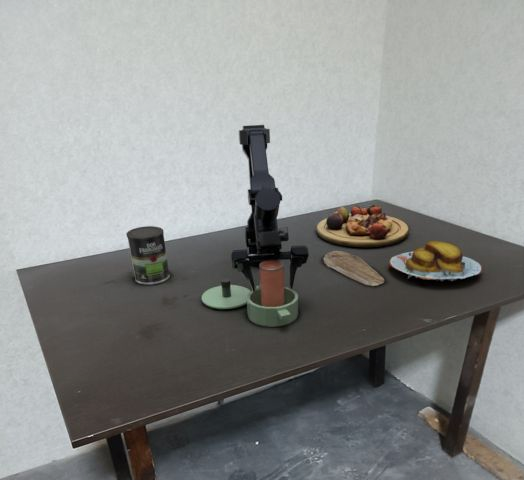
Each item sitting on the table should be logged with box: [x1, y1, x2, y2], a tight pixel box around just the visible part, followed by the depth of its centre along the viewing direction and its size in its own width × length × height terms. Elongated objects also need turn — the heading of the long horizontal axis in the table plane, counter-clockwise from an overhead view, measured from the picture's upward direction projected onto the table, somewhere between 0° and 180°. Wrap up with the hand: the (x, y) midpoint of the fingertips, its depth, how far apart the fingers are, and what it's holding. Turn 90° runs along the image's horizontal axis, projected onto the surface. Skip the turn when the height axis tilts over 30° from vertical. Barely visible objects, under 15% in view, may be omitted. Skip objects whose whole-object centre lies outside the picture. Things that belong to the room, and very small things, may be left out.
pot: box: [246, 284, 299, 328], centre depth 121 cm, size 13×18×5 cm
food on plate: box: [388, 240, 483, 282], centre depth 139 cm, size 25×25×7 cm
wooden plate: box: [316, 204, 410, 248], centre depth 169 cm, size 32×32×8 cm
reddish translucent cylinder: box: [258, 260, 285, 307], centre depth 119 cm, size 6×6×13 cm
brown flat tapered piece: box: [323, 250, 385, 287], centre depth 144 cm, size 26×10×1 cm, turn 31°
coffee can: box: [126, 225, 171, 286], centre depth 140 cm, size 10×10×14 cm
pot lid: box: [201, 277, 252, 310], centre depth 129 cm, size 14×14×6 cm
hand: (272, 289), depth 117 cm, fingers open, 9 cm apart
